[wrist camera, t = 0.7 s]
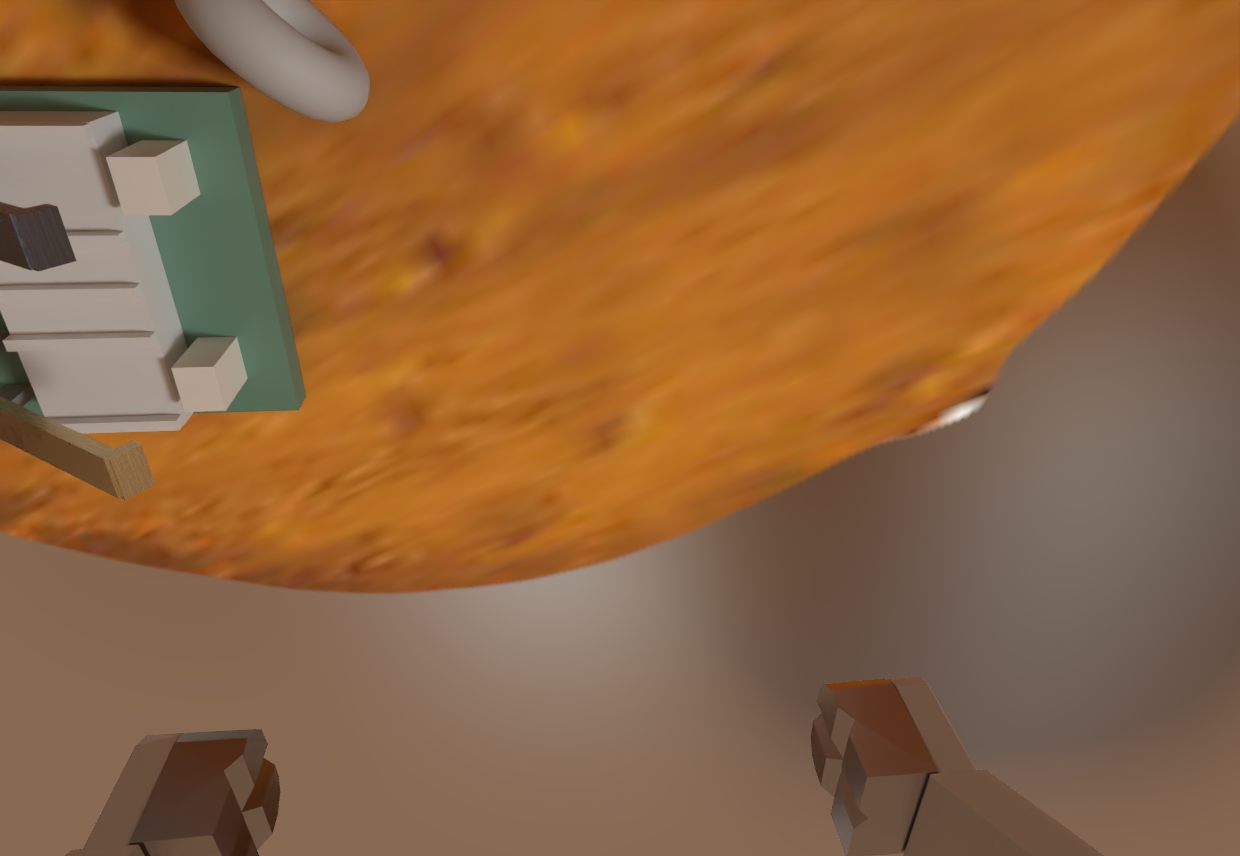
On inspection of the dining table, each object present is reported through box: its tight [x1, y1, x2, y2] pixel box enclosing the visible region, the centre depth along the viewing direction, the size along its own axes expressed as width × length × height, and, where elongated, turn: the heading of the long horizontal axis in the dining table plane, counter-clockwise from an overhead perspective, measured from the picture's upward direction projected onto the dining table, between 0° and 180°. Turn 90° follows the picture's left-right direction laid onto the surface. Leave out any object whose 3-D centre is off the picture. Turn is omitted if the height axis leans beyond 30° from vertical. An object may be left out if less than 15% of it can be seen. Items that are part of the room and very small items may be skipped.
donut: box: [174, 0, 370, 122], centre depth 39 cm, size 10×4×10 cm, turn 46°
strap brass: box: [0, 396, 155, 500], centre depth 43 cm, size 2×16×2 cm
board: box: [0, 86, 306, 433], centre depth 45 cm, size 20×19×8 cm
